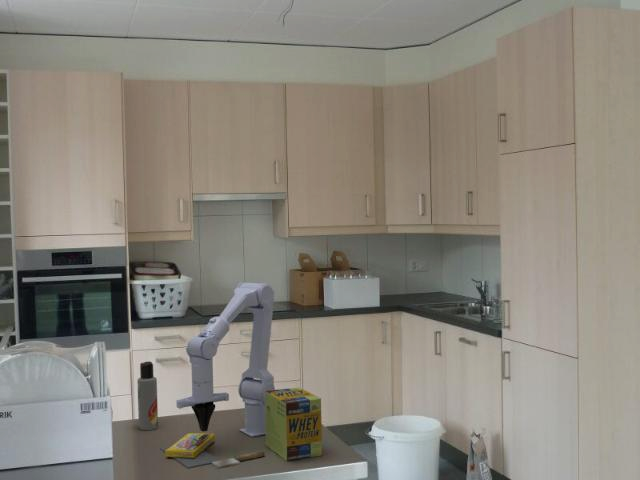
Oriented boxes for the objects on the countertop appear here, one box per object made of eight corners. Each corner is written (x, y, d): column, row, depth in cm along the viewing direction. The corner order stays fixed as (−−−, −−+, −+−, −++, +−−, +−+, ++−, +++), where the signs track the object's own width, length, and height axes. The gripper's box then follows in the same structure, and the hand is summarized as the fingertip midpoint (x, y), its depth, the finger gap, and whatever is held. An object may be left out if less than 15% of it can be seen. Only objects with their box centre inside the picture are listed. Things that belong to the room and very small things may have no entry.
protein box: (286, 461, 206) (285, 403, 205) (265, 445, 220) (264, 390, 219) (323, 455, 210) (322, 398, 210) (299, 440, 224) (298, 386, 224)
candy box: (194, 450, 208) (164, 450, 210) (194, 458, 208) (165, 458, 210) (214, 432, 224) (187, 432, 226) (215, 440, 224) (187, 440, 226)
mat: (189, 442, 224) (189, 441, 224) (220, 461, 207) (220, 460, 207) (159, 448, 219) (159, 447, 219) (187, 468, 202) (187, 467, 202)
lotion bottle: (162, 426, 240) (160, 361, 239) (148, 431, 235) (146, 365, 234) (148, 424, 243) (146, 359, 242) (134, 429, 238) (132, 363, 237)
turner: (259, 454, 213) (259, 448, 212) (267, 458, 209) (266, 452, 209) (212, 464, 205) (211, 458, 205) (218, 468, 202) (218, 463, 202)
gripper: (220, 374, 222) (221, 422, 222) (171, 381, 214) (173, 431, 215) (231, 379, 216) (232, 428, 216) (181, 386, 208) (183, 437, 209)
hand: (203, 430), depth 215 cm, fingers closed
